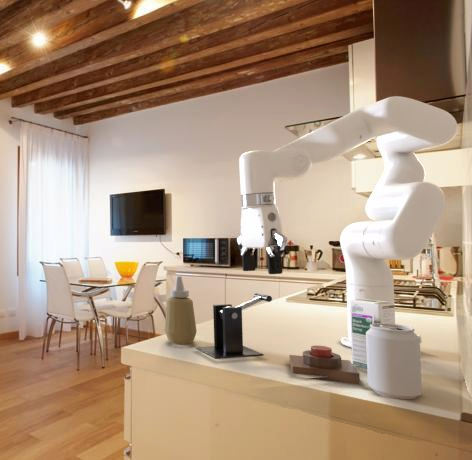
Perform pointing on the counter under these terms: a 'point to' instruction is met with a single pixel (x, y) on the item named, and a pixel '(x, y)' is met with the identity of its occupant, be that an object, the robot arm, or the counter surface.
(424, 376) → the counter surface
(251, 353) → the bracket
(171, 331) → the squeeze bottle
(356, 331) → the syrup box
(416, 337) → the can
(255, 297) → the lever
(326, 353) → the button
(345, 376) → the button block
